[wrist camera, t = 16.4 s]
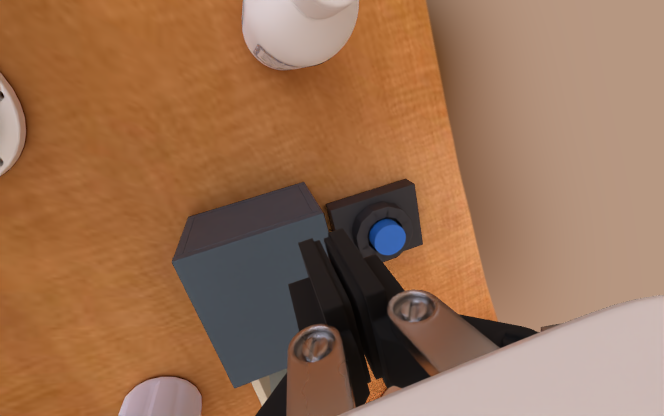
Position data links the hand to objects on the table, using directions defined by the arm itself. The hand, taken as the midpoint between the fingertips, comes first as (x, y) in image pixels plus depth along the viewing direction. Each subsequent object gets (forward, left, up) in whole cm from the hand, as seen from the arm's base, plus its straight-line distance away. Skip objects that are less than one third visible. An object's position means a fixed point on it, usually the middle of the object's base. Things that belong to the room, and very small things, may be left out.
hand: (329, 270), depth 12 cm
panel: (+9, -12, -25) cm, 29 cm away
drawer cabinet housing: (-4, -12, -25) cm, 28 cm away
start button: (+9, -12, -21) cm, 26 cm away
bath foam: (+4, +10, -25) cm, 27 cm away
